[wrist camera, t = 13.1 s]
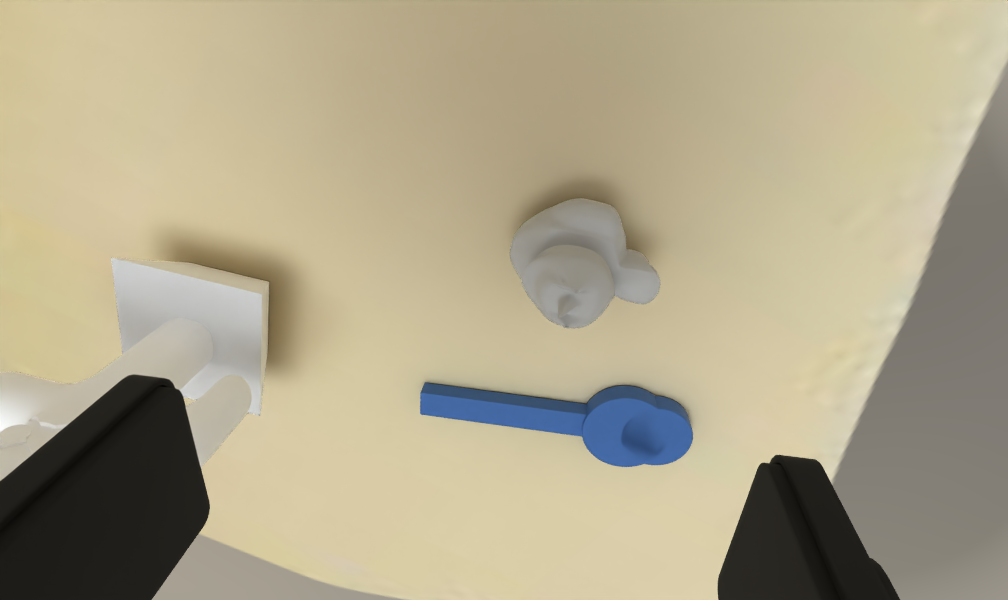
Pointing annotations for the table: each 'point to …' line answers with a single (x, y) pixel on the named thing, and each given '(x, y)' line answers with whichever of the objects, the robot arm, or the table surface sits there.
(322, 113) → the table surface
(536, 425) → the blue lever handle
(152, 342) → the figurine
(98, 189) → the table surface
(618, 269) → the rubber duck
